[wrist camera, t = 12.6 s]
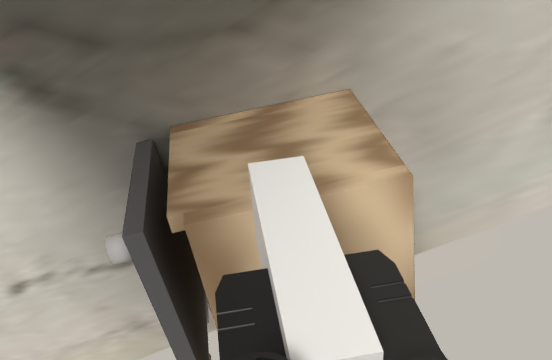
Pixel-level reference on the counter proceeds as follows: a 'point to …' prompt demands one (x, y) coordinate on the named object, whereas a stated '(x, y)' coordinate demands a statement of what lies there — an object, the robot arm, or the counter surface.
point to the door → (162, 258)
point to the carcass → (322, 165)
